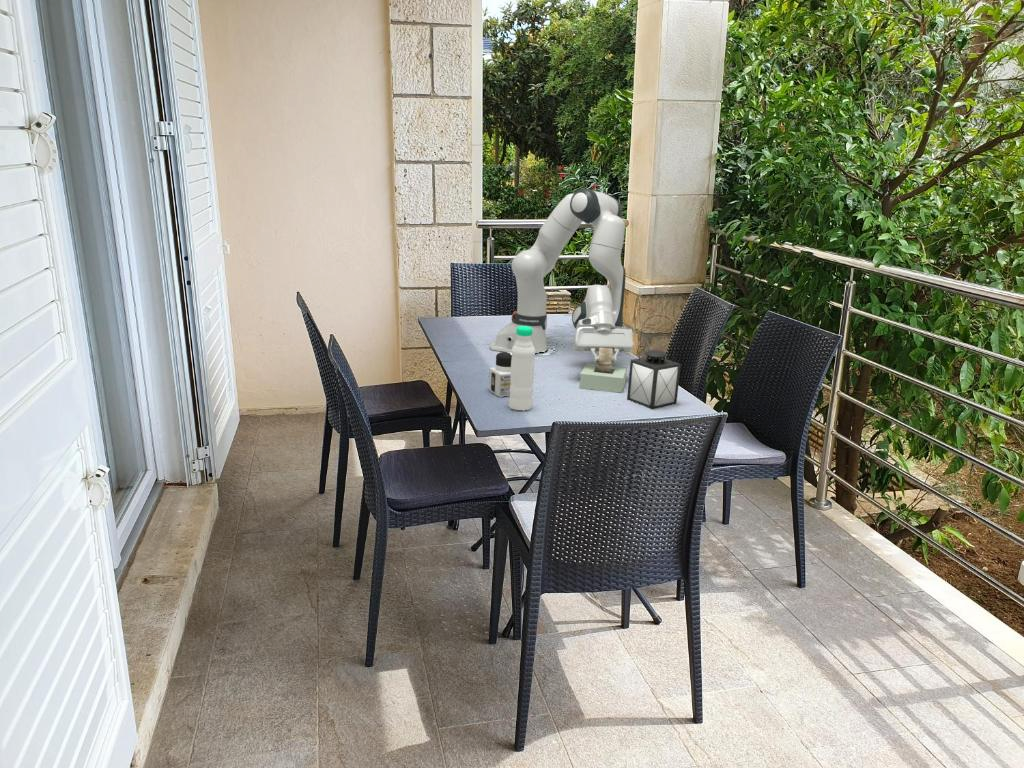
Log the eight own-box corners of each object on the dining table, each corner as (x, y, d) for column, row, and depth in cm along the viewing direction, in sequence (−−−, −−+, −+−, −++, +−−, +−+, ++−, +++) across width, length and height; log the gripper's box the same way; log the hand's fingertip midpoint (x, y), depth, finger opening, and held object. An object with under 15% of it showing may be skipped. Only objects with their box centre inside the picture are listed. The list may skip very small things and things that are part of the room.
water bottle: (507, 404, 245) (511, 324, 238) (530, 404, 246) (535, 324, 239) (509, 411, 238) (513, 329, 231) (533, 411, 239) (538, 330, 232)
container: (499, 397, 251) (501, 357, 247) (488, 390, 257) (490, 351, 254) (521, 395, 254) (523, 355, 251) (509, 388, 261) (511, 349, 257)
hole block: (579, 388, 264) (580, 373, 263) (585, 377, 278) (586, 363, 276) (621, 392, 262) (623, 378, 260) (625, 381, 275) (627, 367, 273)
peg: (596, 378, 267) (598, 349, 264) (597, 375, 271) (600, 346, 268) (609, 380, 266) (612, 351, 263) (611, 376, 270) (613, 348, 268)
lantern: (626, 399, 255) (634, 313, 247) (651, 394, 262) (659, 310, 253) (652, 409, 247) (661, 320, 238) (676, 404, 253) (686, 317, 245)
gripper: (629, 331, 277) (633, 366, 270) (571, 330, 275) (573, 365, 268) (633, 322, 271) (638, 357, 265) (574, 320, 269) (576, 355, 263)
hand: (605, 361), depth 267 cm, fingers closed on peg, 4 cm apart
